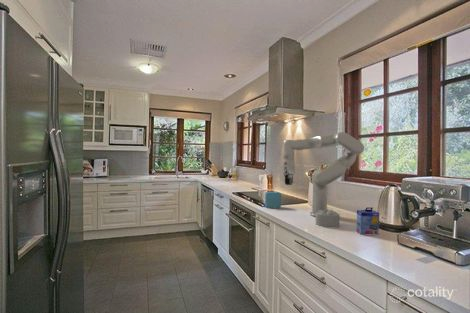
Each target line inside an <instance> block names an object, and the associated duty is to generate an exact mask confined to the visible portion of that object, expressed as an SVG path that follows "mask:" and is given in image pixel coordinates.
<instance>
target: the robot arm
mask: <svg viewBox="0 0 470 313" xmlns="http://www.w3.org/2000/svg"><path fill="white" fill-rule="evenodd" d="M336 146H342V147H343V148H344V153H343V155H342V156H340V157H339V158H337V159H335V160H333V161H331V162H330V163H329V164H327V166H326V168H325V169H317V170H314V172H313V173H312V177H311V181H312V210H311V212H309V215H310V216H312V217H315V218H316V212H318V211H320V210H323V209H326V210H327V211H329V209H328V185H329V184H331V183H334V182H335V181H337V180H338V179H340V178H342V177H343V176H344V175H345V174H346V171H347V169H348V168H349V167H351V166H352V165H353V164H354V163H355V162H356V159H357V156H359V155H361V154H362V153H363V152H365V145H364V144H363V142H362V141H360V140H358V139H356V138H355V137H353V136H352V135H351V134H348V133H346V132H344V131H340V132H334V133H328V134H323V135H317V136H314V137H310V138H304V139H285V140H283V165H282V170H283V171H282V172H283V175H284V185H286V184H289V174H291V175H292V184H294V181H293V180H294V179H293V178H294V174H295V173H296V163H295V151H304V150H311V149H321V148H322V149H323V148H329V147H336ZM287 175H288V176H287Z"/></svg>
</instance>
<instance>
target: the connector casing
mask: <svg viewBox="0 0 470 313" xmlns="http://www.w3.org/2000/svg"><path fill="white" fill-rule="evenodd" d="M287 176H288V175H287ZM285 185H286V186H292V185H293V183H292V175H291V174H289V184H285Z"/></svg>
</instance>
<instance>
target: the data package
mask: <svg viewBox="0 0 470 313" xmlns="http://www.w3.org/2000/svg"><path fill="white" fill-rule="evenodd" d="M264 207H266V208H267V209H280V208H282V193H281V192H279V191H266V192H265V193H264Z"/></svg>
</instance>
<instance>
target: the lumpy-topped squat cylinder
mask: <svg viewBox="0 0 470 313" xmlns="http://www.w3.org/2000/svg"><path fill="white" fill-rule="evenodd" d="M340 215H341V214H340V213H338V212H337V211H334V209H333V210H332V209H328V211H327V210H326V209H323V210H320V211H318V212H316V217H315V226H317V225H318V226H317V227H321V226H322V227H323V228H328V227H336V228H339V227H340V220H341V219H340ZM322 227H321V228H322Z"/></svg>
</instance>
